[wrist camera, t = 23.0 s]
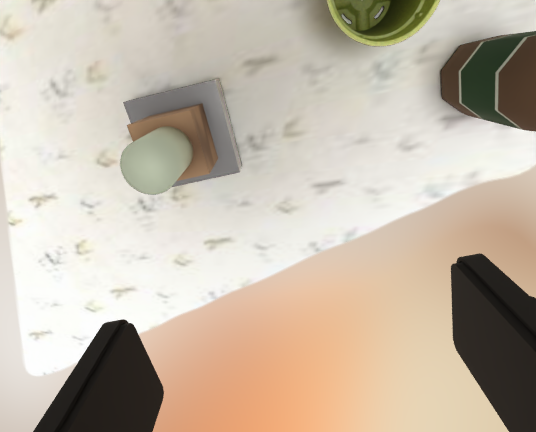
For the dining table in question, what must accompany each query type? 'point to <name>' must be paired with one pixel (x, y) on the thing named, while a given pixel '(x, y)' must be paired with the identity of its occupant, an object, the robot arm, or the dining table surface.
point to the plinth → (215, 115)
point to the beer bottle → (494, 80)
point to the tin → (156, 160)
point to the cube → (194, 128)
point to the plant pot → (381, 19)
